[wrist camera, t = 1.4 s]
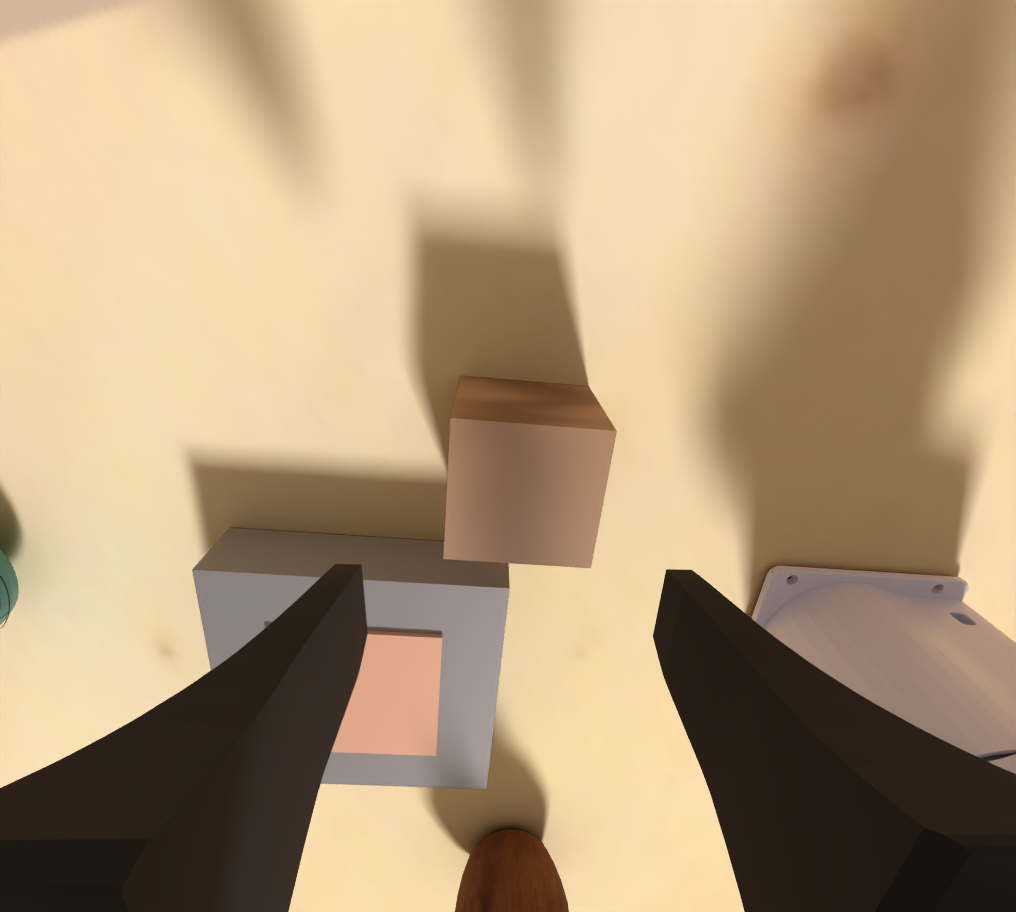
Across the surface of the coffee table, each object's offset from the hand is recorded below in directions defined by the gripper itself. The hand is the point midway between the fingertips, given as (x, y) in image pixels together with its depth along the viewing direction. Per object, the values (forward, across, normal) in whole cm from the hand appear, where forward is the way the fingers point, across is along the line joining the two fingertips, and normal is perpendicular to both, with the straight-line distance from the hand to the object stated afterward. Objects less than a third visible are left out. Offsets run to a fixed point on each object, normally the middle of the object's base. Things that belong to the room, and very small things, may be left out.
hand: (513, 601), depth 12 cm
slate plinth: (+9, +6, +10) cm, 15 cm away
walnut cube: (+10, -1, 0) cm, 10 cm away
